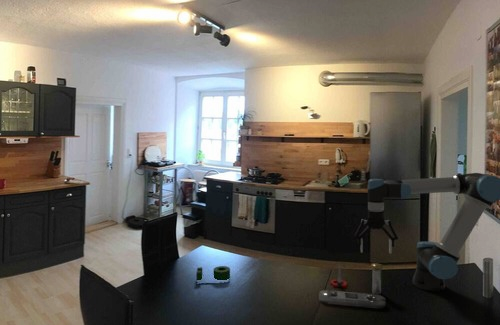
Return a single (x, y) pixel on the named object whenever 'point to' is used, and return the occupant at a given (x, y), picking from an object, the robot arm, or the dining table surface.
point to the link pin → (376, 278)
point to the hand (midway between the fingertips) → (375, 252)
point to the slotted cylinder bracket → (216, 273)
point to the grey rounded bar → (352, 299)
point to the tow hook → (339, 280)
